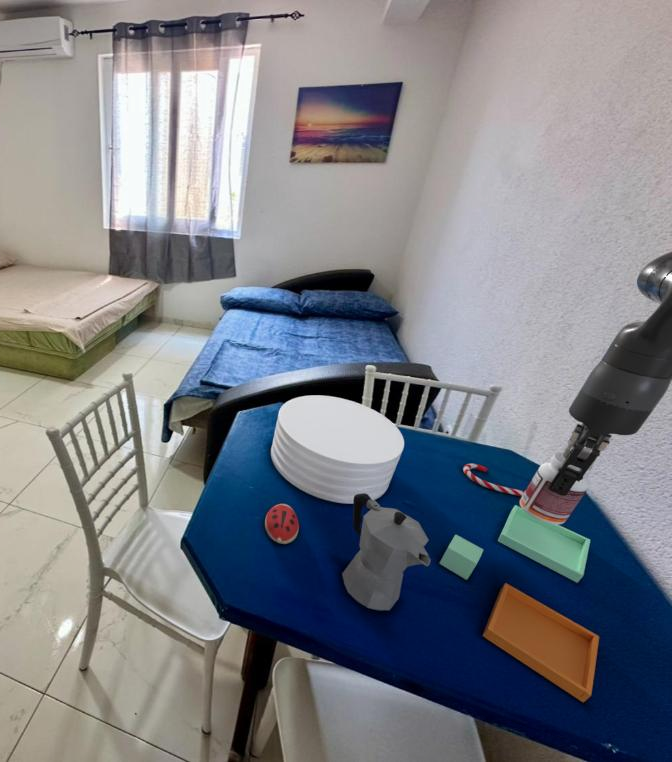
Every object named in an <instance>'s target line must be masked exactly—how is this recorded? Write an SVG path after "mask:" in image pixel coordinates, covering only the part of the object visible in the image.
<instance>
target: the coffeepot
mask: <svg viewBox="0 0 672 762" xmlns="http://www.w3.org/2000/svg"><path fill="white" fill-rule="evenodd" d="M363 506H364V507H365V508H366V509H367V512H366V513H365V514H364V515H363V516H362V511H363ZM352 507H353V509H352V529H353V530H354V531H355V532H356V534H357V535H359V536H360V538H359V549H360V550H359V551H358V552H357V553H356V554H355V555H354V557H353V558H352V559H351V561H350V563H348V565H347V567H346V568H345V569H344V571H343V572H342V573H341V575H342V579H343V584H344V587H345V589H346V591H347V593H348V594H349V595H350V596H351V597H352V598H353V599H354V600H355V601H357V603H359V604H361V605H362V606H364V607H365V608H368V609H371V610H375V611H390V610H391V609H392V608H393V607H394V606H395V604H396V602H397V601H398V600H399V598H400V595H401V589H402V588H401V587H402V583H403V577H404V572H405V571H406V569H407V568H408V567H412V566H417V565H423V566H425V567H429V566H430V565H431V558H430V555H429V554H428V551H427V549H425V546H426V545H427V544H428V542H429V538H428V536H427V534H426V533H425V531H424V529H423V528H422V526H421V524H420V522H419V521H417V520H415V519H414V518H412V517H411V516H409V515H407V514H406V513H403V512H402V511H400V510H399V509H397V508H393V507H382V506H381V505H380V504H379V503H378V502H377V500H376V499H375V500H372V499H371V498H370V496H369V495H368V494H366V493H363V494H356V495H355V496H354V499H353V504H352ZM362 517H363V518H362ZM361 523H362V524H361Z"/></svg>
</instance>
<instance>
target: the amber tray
mask: <svg viewBox="0 0 672 762" xmlns="http://www.w3.org/2000/svg"><path fill="white" fill-rule="evenodd" d="M482 637H483V638H485V639H486V640H487V641H489V642H491V643H492V644H493V645H495V646H496V647H498V648H499V649H501V650H503V651H504V652H506V653H507V654H509V655H511V657H514V658H515V659H516V660H518V661H520V662H521V663H522V664H524V665H525V666H527V667H528V668H530V669H531V670H533V671H534V672H536V673H538V674H539V675H541V676H542V677H544V678H545V679H547V680H548V681H549V682H551V683H553V684H554V685H556V686H558V687H559V689H562V690H563V691H565V693H566V692H567V693H568V694H570V695H571V696H572V697H574V698H575V699H577V700H578V701H580V702H581V703H583V704H584V702H586V701H587V700H588V699H589V698H590V697H592V693H593V686H594V680H595V671H596V664H597V657H598V649H599V643H600V636H599V635H598V634H597V633H594V632H593V631H591V630H589V629H587V628H586V627H584V626H582V625H580V624H578V623H577V622H574V620H571V619H570V618H568V617H566V616H564V615H562V614H561V613H559V612H557V611H556V610H554V609H553V608H550V607H548V606H547V605H545V604H543V603H542V602H540V601H538V600H537V599H535V598H533V597H532V596H529V595H528V594H526V593H524V592H522V591H521V590H519V589H518V588H516V587H514V586H512V585H510V584H508V583H506V582H505V583H504V584H503V585H502V587H501V588H500V590H499V592H498V595H497V598H496V600H495V603H494V605H493V608H492V611H491V613H490V616H489V618H488V620H487V623H486V625H485V628H484V631H483V634H482Z"/></svg>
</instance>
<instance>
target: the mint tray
mask: <svg viewBox="0 0 672 762" xmlns="http://www.w3.org/2000/svg"><path fill="white" fill-rule="evenodd" d="M497 542H498V543H500V544H502V545H504V546H506V547H508V548H510V549H512V550H514V551H515V552H517V553H519V554H521V555H523V556H525V557H526V558H529V559H531V560H533V561H535V562H537V563H539V564H540V565H541V566H544V567H546V568H548V569H550V570H551V571H554V572H556V573H558V574H559V575H562V576H564V577H565V578H567V579H569V580H571V581H572V582H575V583H576V584H578V583H579V582H580V580H581V579H582V578H583V577H584V575H585V570H586V564H587V560H588V554H589V549H590V544H591V539H589V538H587V537H586V536H583V535H581V534H579V533H577V532H574V531H573V530H570V529H569V528H566V527H564V526H562V525H561V524H559V525H554V524H548V523H545V522H542V521H540V520H537V519H536V518H534V517H532V516H530V515H529V514H528V513H526V512H525V511H524V510H523V509H522V507H521V506H519V505H516V504H515V505H514V506H513V508H512V509H511V511H510V512H509V515H508V517H507V519H506V522H505V524H504V526H503V528H502V530H501V533H500V535H499V537H498V539H497Z"/></svg>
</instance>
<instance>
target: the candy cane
mask: <svg viewBox="0 0 672 762" xmlns="http://www.w3.org/2000/svg"><path fill="white" fill-rule="evenodd" d="M472 469H473V470H478V471H480V472H482V473H485V472H487V470H488V468H487V467H485V466H482V465H481V464H477V463H467V464H465V465H464V466H463V468H462V470H463V473H464V474H465V476H466V477H467V478H468V479H469V480H471V481H472V482H474V483H476V484H477V485H479V486H482V487H484V488H487V489H490V490H493V491H496V492H499V493H504V494H509V495H512V496H513V495H514V496H517V497H522V496H523V494H524V492H525V491H526V490H520V489H516V488H510V487H507V486H503V485H502V486H501V485H498V484H494V483H491V482H488V481H486V480H484V479H481V478H480V477H478V476H476V475H474V474H473V473H472V472H471V470H472Z"/></svg>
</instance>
